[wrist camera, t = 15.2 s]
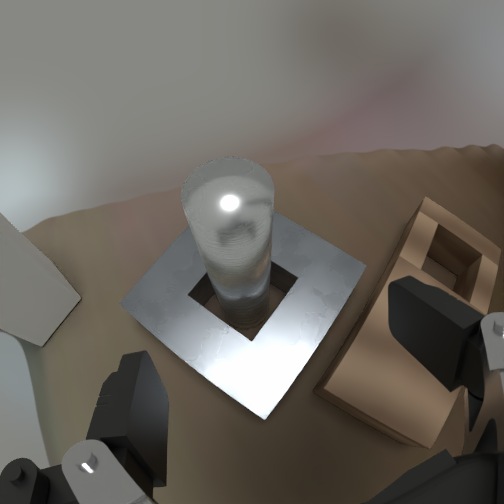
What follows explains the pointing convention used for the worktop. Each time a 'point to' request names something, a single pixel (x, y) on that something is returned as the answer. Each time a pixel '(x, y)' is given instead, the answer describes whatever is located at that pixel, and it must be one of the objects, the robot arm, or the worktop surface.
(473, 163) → the worktop surface
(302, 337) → the holder
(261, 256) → the axle
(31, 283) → the milk carton
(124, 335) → the worktop surface
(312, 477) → the worktop surface
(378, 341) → the wooden block with hole
